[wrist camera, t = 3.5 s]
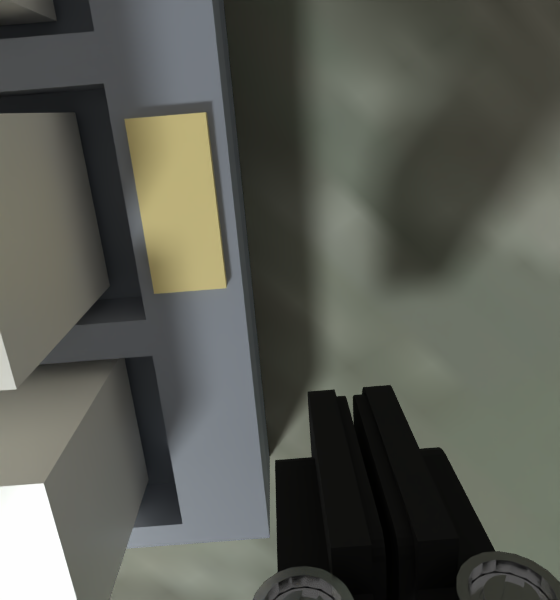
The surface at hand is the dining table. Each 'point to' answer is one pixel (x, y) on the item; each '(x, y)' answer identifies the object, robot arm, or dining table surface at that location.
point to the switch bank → (162, 247)
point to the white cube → (26, 11)
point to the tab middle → (44, 239)
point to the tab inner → (68, 481)
